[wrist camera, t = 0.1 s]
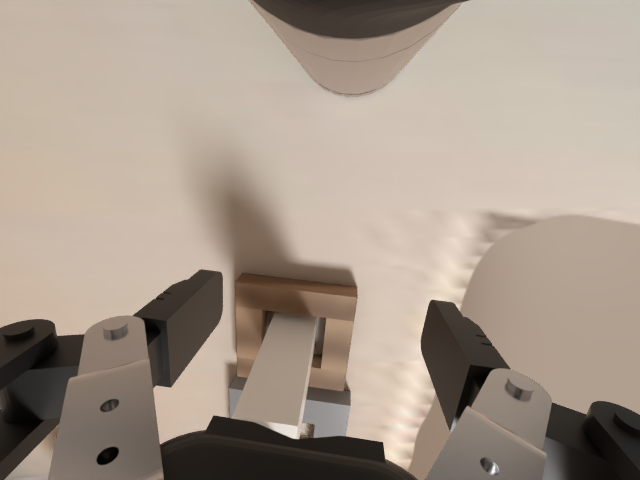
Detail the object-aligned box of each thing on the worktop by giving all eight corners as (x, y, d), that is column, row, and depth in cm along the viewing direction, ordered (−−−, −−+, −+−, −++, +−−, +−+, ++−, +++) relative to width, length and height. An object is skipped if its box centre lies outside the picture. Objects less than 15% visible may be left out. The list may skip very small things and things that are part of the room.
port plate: (235, 375, 36) (227, 392, 34) (350, 391, 36) (350, 410, 33) (237, 452, 41) (230, 472, 39) (338, 468, 41) (337, 490, 38)
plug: (276, 308, 32) (213, 462, 18) (317, 313, 32) (289, 474, 17) (275, 341, 34) (216, 509, 19) (314, 347, 34) (285, 521, 19)
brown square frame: (242, 273, 31) (235, 282, 29) (356, 287, 31) (357, 297, 29) (243, 363, 36) (237, 376, 34) (343, 377, 35) (343, 391, 33)
